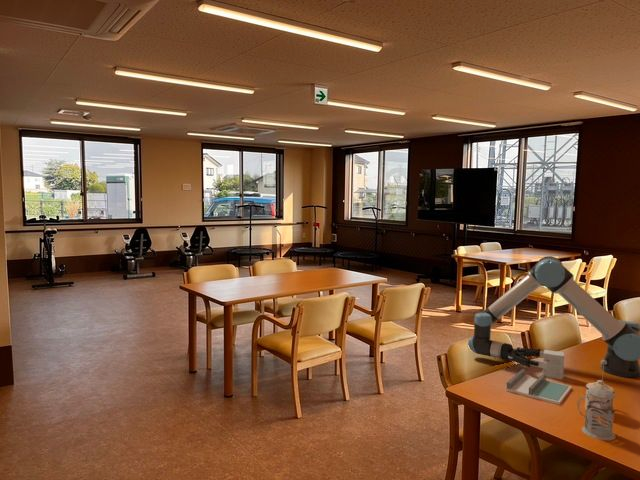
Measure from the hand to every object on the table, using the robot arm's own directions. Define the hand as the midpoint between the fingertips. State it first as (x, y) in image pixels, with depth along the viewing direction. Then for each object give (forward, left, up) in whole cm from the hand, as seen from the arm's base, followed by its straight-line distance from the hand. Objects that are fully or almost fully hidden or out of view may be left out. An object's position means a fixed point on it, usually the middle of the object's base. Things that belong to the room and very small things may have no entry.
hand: (551, 361), depth 211 cm
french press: (-25, +45, -7) cm, 52 cm away
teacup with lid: (-23, +25, -7) cm, 34 cm away
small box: (-1, 0, -7) cm, 7 cm away
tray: (0, +20, -6) cm, 21 cm away
